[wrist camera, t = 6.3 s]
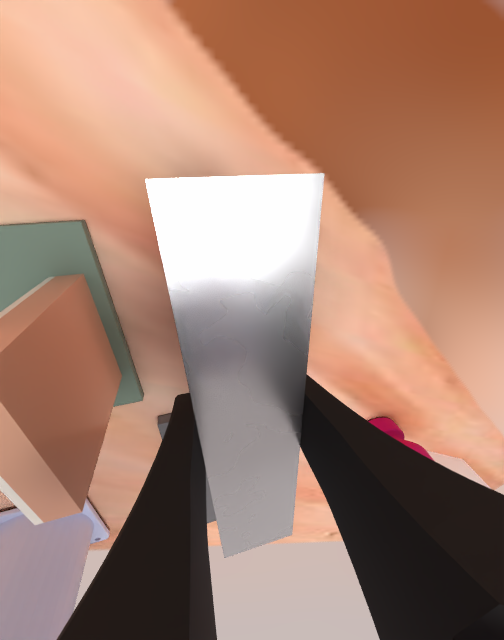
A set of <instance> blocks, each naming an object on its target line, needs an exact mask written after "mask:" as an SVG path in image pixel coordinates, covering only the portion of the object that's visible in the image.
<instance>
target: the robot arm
mask: <svg viewBox="0 0 504 640" xmlns="http://www.w3.org/2000/svg"><path fill="white" fill-rule="evenodd" d="M300 447H301V449H302V451H303V453H304V455H305V457H306V459H307V461H308V463H309V465H310V467H311V469H312V471H313V473H314V475H315V477H316V479H317V481H318V483H319V485H320V487H321V489H322V491H323V493H324V495H325V497H326V499H327V502H328V504H329V506H330V509H331V511H332V514H333V516H334V518H335V521H336V523H337V526H338V528H339V531H340V533H341V536H342V538H343V541H344V543H345V546H346V549H347V551H348V554H349V556H350V559H351V561H352V564H353V567H354V569H355V572H356V575H357V578H358V580H359V583H360V585H361V588H362V591H363V594H364V596H365V599H366V602H367V605H368V607H369V610H370V613H371V616H372V618H373V621H374V624H375V627H376V630H377V633H378V636H379V638H380V640H504V495H503V494H501V493H498V492H496V491H494V490H492V489H490V488H488V487H486V486H483V485H481V484H479V483H477V482H475V481H473V480H470V479H468V478H466V477H464V476H462V475H460V474H458V473H456V472H454V471H452V470H450V469H448V468H447V467H445V466H443V465H441V464H439V463H437V462H435V461H433V460H431V459H429V458H428V457H426V456H424V455H422V454H420V453H418V452H417V451H415V450H413V449H411V448H410V447H408V446H406V445H405V444H403V443H401V442H400V441H398V440H396V439H395V438H393V437H391V436H390V435H388V434H386V433H385V432H383V431H382V430H380V429H379V428H377V427H375V426H374V425H373V424H371V423H370V422H368V421H367V420H365V419H364V418H362V417H361V416H359V415H358V414H357V413H355V412H354V411H353V410H351V409H350V408H349V407H347V406H346V405H345V404H343V403H342V402H341V401H339V400H338V399H337V398H335V397H334V396H333V395H332V394H330V393H329V392H328V391H326V390H325V389H324V388H323V387H322V386H320V385H319V384H318V383H317V382H315V381H314V380H313V379H312V378H310V377H309V376H308V375H307V374H306V384H305V395H304V407H303V418H302V429H301V440H300ZM109 534H110V532H109V530H108V529H107V527H106V526H105V524H104V523H103V521H102V520H101V518H100V517H99V516H98V514H97V513H96V511H95V510H94V508H93V507H92V505H91V504H90V502H89V501H88V499H87V498H86V501H85V504H84V508H83V511H82V512H81V513H77V514H74V515H70V516H67V517H63V518H59V519H56V520H52V521H48V522H45V523H41V524H38V525H34V524H33V523H32V522H31V521H30V520H29V519H28V518H27V517H26V516H25V515H24V514H23V513H22V512H21V511H20V510H19V509H18V508H15V509H11V510H8V511H4V512H0V640H217V635H216V625H215V615H214V606H213V595H212V585H211V574H210V563H209V553H208V539H207V507H206V467H205V463H204V458H203V453H202V448H201V444H200V439H199V434H198V429H197V424H196V420H195V415H194V410H193V405H192V401H191V396H190V393H186V394H181V395H178V396H177V397H176V398H175V402H174V406H173V410H172V413H171V417H170V420H169V423H168V426H167V429H166V432H165V435H164V437H163V440H162V442H161V445H160V448H159V450H158V453H157V455H156V458H155V460H154V462H153V465H152V467H151V469H150V472H149V474H148V476H147V478H146V481H145V483H144V485H143V487H142V490H141V492H140V494H139V496H138V498H137V500H136V502H135V504H134V506H133V508H132V510H131V512H130V514H129V516H128V518H127V520H126V522H125V524H124V526H123V527H122V529H121V531H120V533H119V535H118V537H117V538H116V540H115V542H114V544H113V546H112V547H111V549H110V551H109V553H108V555H107V557H106V559H105V560H104V562H103V564H102V565H101V567H100V569H99V571H98V572H97V574H96V576H95V578H94V579H93V581H92V583H91V584H90V586H89V588H88V589H87V591H86V593H85V594H84V596H83V597H82V599H81V601H80V602H79V604H78V606H77V607H76V609H75V611H74V607H75V602H76V598H77V594H78V590H79V586H80V582H81V578H82V574H83V570H84V566H85V562H86V557H87V554H88V550H89V546H90V544H92V543H95V542H99V541H102V540H105V539H107V538H108V537H109ZM73 611H74V612H73Z"/></svg>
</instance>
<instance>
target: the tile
mask: <svg viewBox="0 0 504 640" xmlns="http://www.w3.org/2000/svg"><path fill="white" fill-rule="evenodd" d="M121 378H122V374H121V372H120V369H119V366H118V364H117V361H116V358H115V356H114V353H113V350H112V348H111V345H110V342H109V340H108V337H107V334H106V332H105V329H104V327H103V324H102V321H101V319H100V316H99V313H98V311H97V308H96V305H95V303H94V300H93V297H92V295H91V292H90V289H89V287H88V284H87V281H86V279H85V276H84V274H74V275H64V276H54V277H48V278H47V279H45V280H44V281H43V282H41V283H40V284H38V285H37V286H36V287H34V288H33V289H32V290H30V291H29V292H27V293H26V294H25V295H23V296H22V297H21V298H19V299H18V300H16V301H15V302H14V303H12V304H11V305H10V306H8V307H7V308H5V309H4V310H3V311H1V312H0V490H1V491H2V492H3V493H4V494H5V495H6V496H7V497H8V498H9V500H10V501H11V502H12V503H13V504H14V505H15V506H16V507H17V508H18V509H19V510H20V511H21V512H22V513H23V514H24V515H25V516H26V517H27V518H28V519H29V520H30V521H31V522H32V523H33V524H34V525H38V524H41V523H45V522H48V521H52V520H56V519H59V518H63V517H67V516H70V515H74V514H77V513H81V512H82V511H83V508H84V504H85V501H86V497H87V494H88V491H89V487H90V484H91V480H92V477H93V474H94V470H95V467H96V463H97V460H98V456H99V453H100V450H101V446H102V443H103V439H104V436H105V433H106V429H107V426H108V422H109V419H110V416H111V412H112V409H113V405H114V402H115V398H116V395H117V392H118V388H119V385H120V381H121Z"/></svg>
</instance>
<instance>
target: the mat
mask: <svg viewBox="0 0 504 640" xmlns="http://www.w3.org/2000/svg"><path fill="white" fill-rule="evenodd" d="M74 274H84V276H85V279H86V281H87V284H88V287H89V289H90V292H91V295H92V297H93V300H94V303H95V305H96V308H97V311H98V313H99V316H100V319H101V321H102V324H103V327H104V329H105V332H106V334H107V337H108V340H109V342H110V345H111V348H112V350H113V353H114V356H115V358H116V361H117V364H118V366H119V369H120V372H121V374H122V378H121V381H120V385H119V388H118V392H117V395H116V398H115V402H114V405H113V407H114V406H119V405H124V404H129V403H134V402H139V401H143V396H144V394H143V391H142V388H141V385H140V382H139V379H138V376H137V373H136V370H135V367H134V364H133V361H132V358H131V355H130V353H129V350H128V347H127V344H126V341H125V338H124V335H123V332H122V329H121V326H120V323H119V320H118V317H117V314H116V311H115V308H114V305H113V302H112V299H111V296H110V293H109V290H108V287H107V284H106V281H105V278H104V275H103V272H102V270H101V267H100V264H99V261H98V258H97V255H96V252H95V249H94V246H93V243H92V240H91V237H90V234H89V231H88V228H87V225H86V222H85V220H75V221H59V222H43V223H26V224H10V225H0V312H1V311H3V310H4V309H5V308H7V307H8V306H10V305H11V304H12V303H14V302H15V301H16V300H18V299H19V298H21V297H22V296H23V295H25V294H26V293H27V292H29V291H30V290H32V289H33V288H34V287H36V286H37V285H38V284H40V283H41V282H43V281H44V280H45V279H47V278H48V277H54V276H64V275H74Z"/></svg>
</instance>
